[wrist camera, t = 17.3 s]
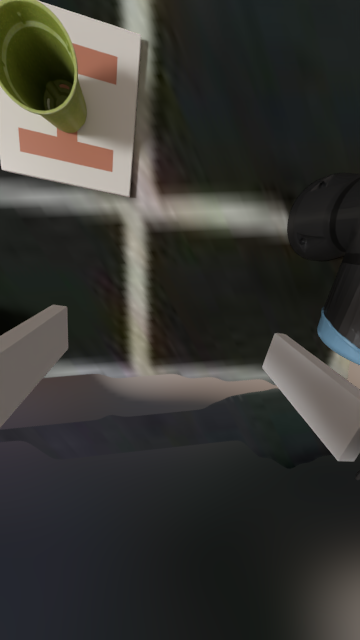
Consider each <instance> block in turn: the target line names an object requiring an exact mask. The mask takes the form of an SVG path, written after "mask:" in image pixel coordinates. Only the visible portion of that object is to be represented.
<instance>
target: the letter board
mask: <svg viewBox="0 0 360 640" xmlns="http://www.w3.org/2000/svg"><path fill="white" fill-rule="evenodd" d="M37 1H38V0H37ZM39 2H41V1H39ZM41 3H42V4H44V5H45V6H46V7H47V8H49V9H50V10H51V11H52V12H53V13H54V14H55V15H56V16H57V18H58V19H59V20H60V21H61V23H62V24H63V26H64V28H65V29H66V31H67V33H68V35H69V37H70V39H71V42H72V44H73V47H74V50H75V54H76V58H77V64H78V80H79V83H80V87H81V90H82V93H83V96H84V99H85V103H86V108H87V117H86V121H85V123H84V125H83V126H82V127H81V128H80V129H79V130H78V131H76V132H74V133H67V132H63V131H61V130H59V129H58V128H56V127H55V126H54V125H52V124H51V123H50V122H49V121H47V120H46V119H45V118H43V117H42V116H41V115H38V114H34V113H31V112H29V111H27V110H25V109H23V108H22V107H20V106H19V105H18V104H16V103H15V102H14V101H13V100H12V99H11V98H10V97H9V96H8V95H7V94H6V93H5V92H4V90H3V89H2V88H1V86H0V159H1V168H2V170H4V171H6V172H11V173H16V174H20V175H25V176H30V177H35V178H39V179H44V180H49V181H54V182H58V183H63V184H68V185H73V186H77V187H82V188H87V189H92V190H96V191H101V192H106V193H111V194H115V195H120V196H125V197H130V190H131V176H132V163H133V149H134V136H135V122H136V108H137V95H138V81H139V68H140V54H141V34H138V33H135V32H132V31H129V30H126V29H123V28H120V27H117V26H114V25H111V24H108V23H105V22H101V21H98V20H95V19H92V18H89V17H86V16H83V15H80V14H77V13H74V12H71V11H68V10H65V9H62V8H59V7H56V6H53V5H50V4H47V3H44V2H41ZM59 86H60V87H61V88H66V89H69V87H68V86H67V85H64V84H61V85H59ZM49 103H50V99H49V98H48V99H47V106H48V109H49V110H50V105H49Z"/></svg>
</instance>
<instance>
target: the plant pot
mask: <svg viewBox="0 0 360 640" xmlns="http://www.w3.org/2000/svg"><path fill="white" fill-rule="evenodd" d="M61 84H64V85H67V86H68V87H69V89H66V88H61V87H60V86H59V85H61ZM0 86H1V88H2V89H3V90H4V92H5V93H6V94H7V95H8V96H9V97H10V98H11V99H12V100H13V101H14V102H15V103H16V104H18V105H19V106H20V107H22V108H23V109H25V110H27V111H29V112H31V113H34V114H38V115H41V116H42V117H43V118H45V119H46V120H47V121H49V122H50V123H51V124H52V125H54V126H55V127H56V128H58V129H59V130H61V131H63V132H67V133H74V132H76V131H78V130H79V129H80V128H81V127H82V126H83V125H84V123H85V121H86V117H87V108H86V103H85V99H84V96H83V93H82V90H81V87H80V83H79V80H78V64H77V58H76V54H75V50H74V47H73V44H72V42H71V39H70V37H69V35H68V33H67V31H66V29H65V28H64V26H63V24H62V23H61V21H60V20H59V19H58V18H57V16H56V15H55V14H54V13H53V12H52V11H51V10H50V9H49V8H47V7H46V6H45V5H44V4H42V3H41V2H39V1H37V0H0ZM48 98H49V99H50V103H49V105H50V110H49V109H48V106H47V99H48Z"/></svg>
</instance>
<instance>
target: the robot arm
mask: <svg viewBox="0 0 360 640" xmlns="http://www.w3.org/2000/svg"><path fill="white" fill-rule="evenodd" d="M287 232H288V239H289V242H290V244H291V246H292V248H293V250H294V251H295V252H296V253H297V254H298V255H299V256H301V257H303V258H305V259H309V260H316V261H326V260H331V259H335V258H338V257H341V256H344V258H343V261H342V263H341V265H340V268H339V271H338V273H337V276H336V278H335V281H334V284H333V286H332V289H331V291H330V294H329V296H328V298H327V301H326V303H325V306H324V307H323V308H322V311H321V314H322V315H321V318H320V321H319V324H318V329H317V331H318V334H319V337H320V338H321V340H322V341H323V342H324V343H325V344H326V345H327V346H328V347H329V348H330V349H332V350H333V351H335V352H336V353H338V354H339V355H341V356H343V357H344V358H346V359H348V360H350V361H352V362H354V363H356V364H358V365H360V174H353V173H337V174H332V175H329V176H326V177H324V178H321V179H319V180H317V181H315V182H313V183H312V184H310V185H309V186H308V187H307V188H306V189H305V190H304V191H303V192H302V193H301V194H300V195H299V197H298V198H297V200H296V201H295V203H294V205H293V207H292V209H291V212H290V215H289V219H288V226H287ZM348 263H349V264H348ZM67 349H68V324H67V307H66V306H58V305H52V306H50V307H48V308H47V309H45V310H43V311H42V312H40V313H38V314H36V315H35V316H33V317H31V318H30V319H28V320H26V321H25V322H23V323H21V324H19V325H18V326H16V327H14V328H13V329H11V330H9V331H8V332H6V333H4V334H3V335H1V336H0V427H1V426H2V425H3V424H4V423H5V421H6V420H7V419H8V418H9V417H10V416H11V414H12V413H13V412H14V411H15V410H16V408H17V407H18V406H19V405H20V404H21V403H22V402H23V400H24V399H25V398H26V397H27V396H28V395H29V393H30V392H31V391H32V390H33V389H34V388H35V386H36V385H37V384H38V383H39V382H40V381H41V379H42V378H43V377H44V376H45V375H46V374H47V373H48V371H49V370H50V369H51V368H52V367H53V366H54V364H55V363H56V362H57V361H58V360H59V359H60V357H61V356H62V355H63V354H64V353H65V352H66V350H67ZM262 368H263V369H264V370H265V372H266V373H267V374H268V375H269V377H270V378H271V379H272V380H273V382H274V383H275V384H276V385H277V386H278V388H279V389H280V390H281V391H282V393H283V394H284V395H285V396H286V398H287V399H288V400H289V401H290V403H291V404H292V405H293V406H294V407H295V409H296V410H297V411H298V412H299V414H300V415H301V416H302V417H303V419H304V420H305V421H306V422H307V423H308V425H309V426H310V427H311V428H312V430H313V431H314V432H315V433H316V435H317V436H318V437H319V438H320V440H321V441H322V442H323V443H324V444H325V446H326V447H327V448H328V449H329V451H330V452H331V453H332V454H333V455H334V456H335V458H336V459H337V460H338V461H354V460H355V459H356V457H357V456H358V454H359V453H360V389H358V388H357V387H356V386H354V385H353V384H352V383H350V382H349V381H348V380H346V379H345V378H344V377H342V376H341V375H339V374H338V373H337V372H335V371H334V370H333V369H331V368H330V367H329V366H327V365H326V364H325V363H323V362H322V361H321V360H319V359H318V358H317V357H315V356H314V355H312V354H311V353H310V352H308V351H307V350H306V349H304V348H303V347H302V346H300V345H299V344H298V343H296V342H295V341H294V340H292V339H291V338H290V337H288V336H287V335H285V334H279V333H275V334H274V337H273V339H272V342H271V345H270V348H269V350H268V353H267V356H266V358H265V361H264V364H263V367H262ZM355 478H356V479H357V480H359V479H360V470H359V471H358V472H357V474H356V477H355Z"/></svg>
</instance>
